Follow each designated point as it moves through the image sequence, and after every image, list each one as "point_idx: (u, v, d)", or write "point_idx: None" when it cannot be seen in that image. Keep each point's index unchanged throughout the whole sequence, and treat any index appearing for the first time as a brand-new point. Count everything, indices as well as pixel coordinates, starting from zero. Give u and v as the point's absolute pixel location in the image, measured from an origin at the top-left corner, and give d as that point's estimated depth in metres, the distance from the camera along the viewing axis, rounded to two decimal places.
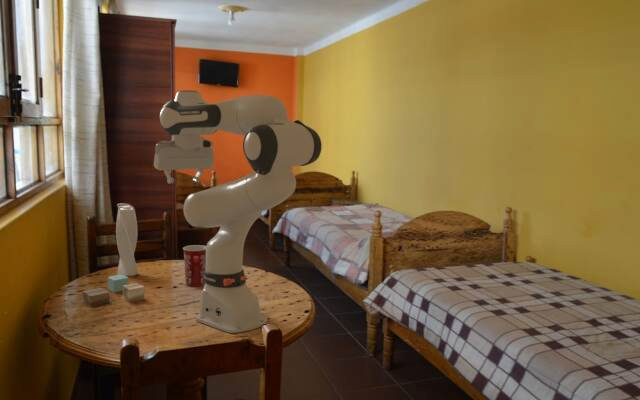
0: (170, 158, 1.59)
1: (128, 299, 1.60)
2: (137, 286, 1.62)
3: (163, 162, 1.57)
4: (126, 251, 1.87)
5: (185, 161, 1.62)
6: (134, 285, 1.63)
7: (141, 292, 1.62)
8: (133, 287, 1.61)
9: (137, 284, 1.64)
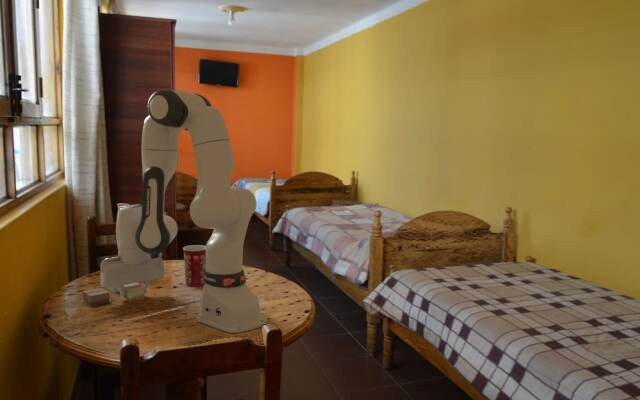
0: (117, 274, 1.57)
1: (128, 299, 1.60)
2: (137, 286, 1.62)
3: (109, 279, 1.55)
4: None
5: (133, 275, 1.60)
6: (134, 285, 1.63)
7: (141, 292, 1.62)
8: (133, 287, 1.61)
9: (137, 284, 1.64)
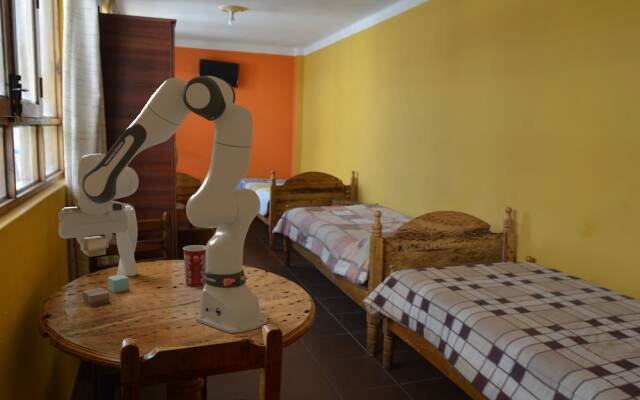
0: (76, 224, 1.51)
1: (88, 251, 1.54)
2: (98, 238, 1.57)
3: (67, 229, 1.49)
4: (126, 251, 1.87)
5: (94, 227, 1.54)
6: (95, 237, 1.58)
7: (102, 244, 1.56)
8: (94, 239, 1.56)
9: (99, 237, 1.59)
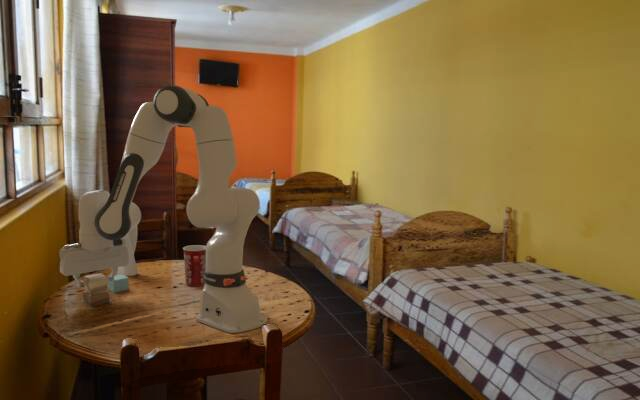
0: (77, 261, 1.53)
1: (90, 290, 1.56)
2: (99, 276, 1.58)
3: (68, 267, 1.51)
4: None
5: (95, 262, 1.56)
6: (97, 275, 1.59)
7: (103, 283, 1.58)
8: (96, 277, 1.57)
9: (100, 274, 1.60)
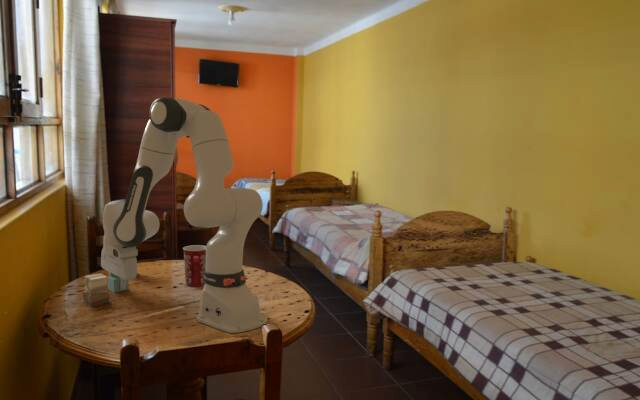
0: (106, 259, 1.73)
1: (90, 290, 1.56)
2: (99, 276, 1.58)
3: (102, 261, 1.75)
4: None
5: (111, 266, 1.70)
6: (97, 275, 1.59)
7: (103, 283, 1.58)
8: (96, 277, 1.57)
9: (100, 274, 1.60)
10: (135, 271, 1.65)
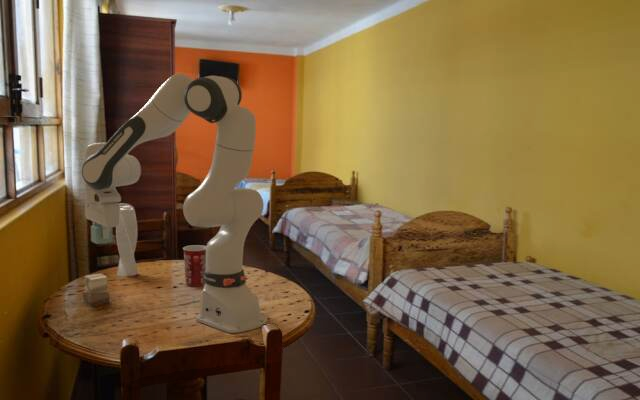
0: (89, 208, 1.62)
1: (90, 290, 1.56)
2: (99, 276, 1.58)
3: (86, 210, 1.64)
4: (126, 251, 1.87)
5: (94, 214, 1.59)
6: (97, 275, 1.59)
7: (103, 283, 1.58)
8: (96, 277, 1.57)
9: (100, 274, 1.60)
10: (118, 218, 1.53)
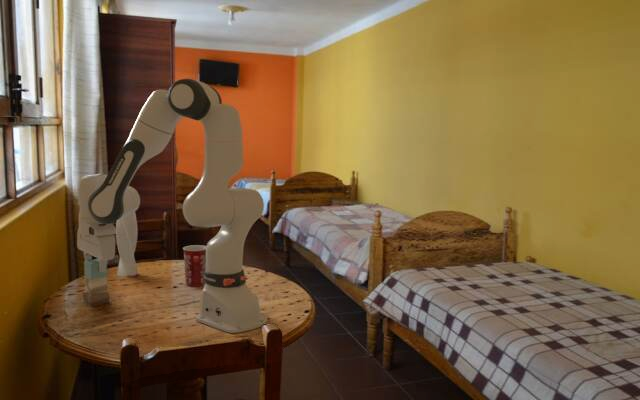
0: (82, 239, 1.60)
1: (90, 290, 1.56)
2: None
3: (78, 241, 1.62)
4: (126, 251, 1.87)
5: (88, 245, 1.56)
6: None
7: (103, 283, 1.58)
8: None
9: None
10: (113, 251, 1.51)
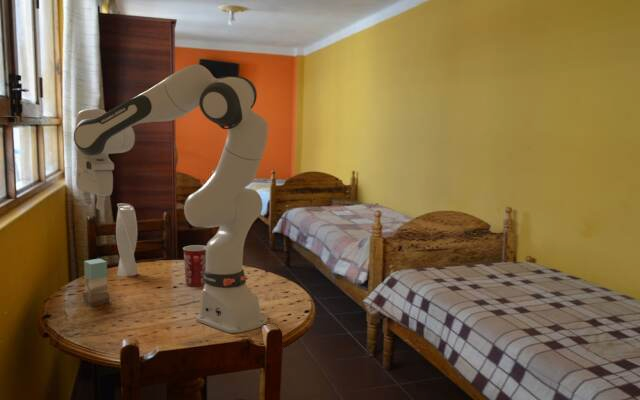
0: (81, 177, 1.57)
1: (90, 290, 1.56)
2: None
3: (77, 180, 1.59)
4: (126, 251, 1.87)
5: (86, 183, 1.54)
6: None
7: (103, 283, 1.58)
8: None
9: None
10: (111, 186, 1.48)
